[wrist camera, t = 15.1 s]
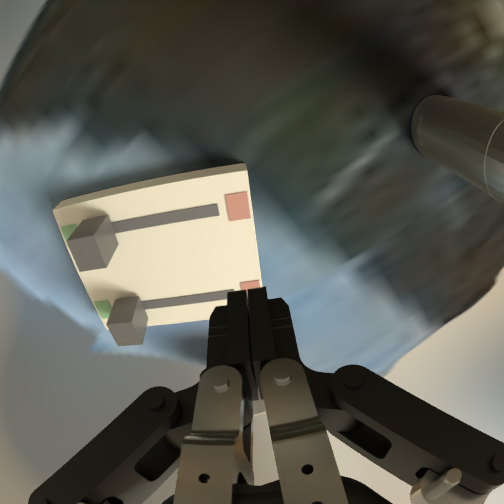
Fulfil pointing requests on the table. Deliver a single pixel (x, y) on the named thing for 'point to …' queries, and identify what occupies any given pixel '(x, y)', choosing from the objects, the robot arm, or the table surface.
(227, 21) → the table surface
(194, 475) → the robot arm
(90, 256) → the slider
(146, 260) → the switch panel
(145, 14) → the table surface
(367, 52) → the table surface
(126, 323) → the slider
